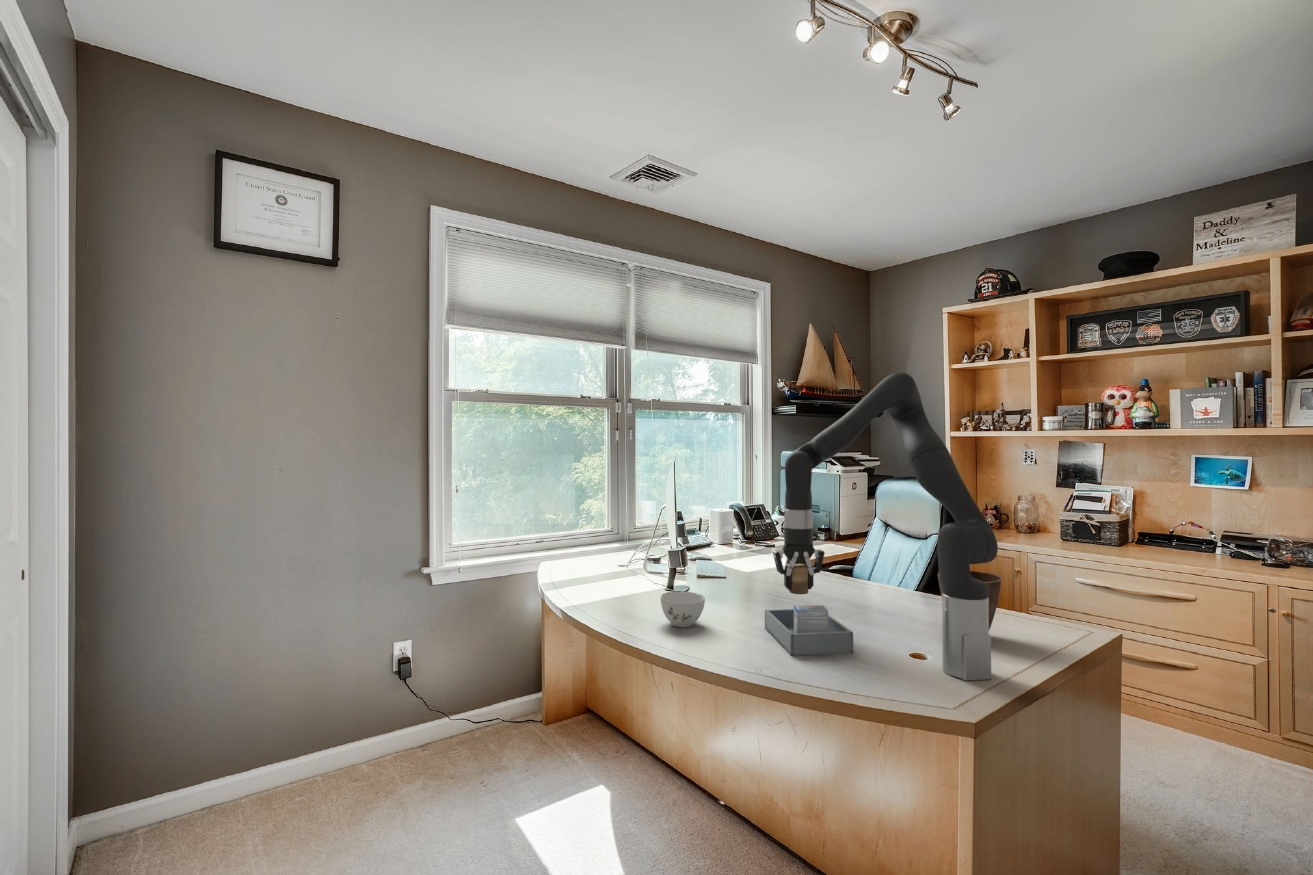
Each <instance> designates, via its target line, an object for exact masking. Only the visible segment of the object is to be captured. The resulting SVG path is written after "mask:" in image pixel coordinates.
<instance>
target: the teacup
mask: <svg viewBox="0 0 1313 875" xmlns="http://www.w3.org/2000/svg"><path fill="white" fill-rule="evenodd" d="M705 602H706V597H705V595H702V594H698V593H696V592H692V591H676V590H674V591H668V592H664V593H661V595H660V605H661V609H662V611H663V614H664V616H665V618H666V619H667V620H668V621H669V622H670V624H671V625H672V626H674V627H677V628H690V627H693V625H694V624H695V623H696V622H697V621H698V620H699V618H700V617H701V616H702V613H703V610H704V608H705Z"/></svg>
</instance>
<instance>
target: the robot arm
mask: <svg viewBox="0 0 1313 875" xmlns="http://www.w3.org/2000/svg"><path fill="white" fill-rule="evenodd" d="M916 383H917V382H916V381H915V379H914V377H912V376H911V375H910V374H908V373H906V372H901V371H900V372H895V373H894V372H893V373H891V374H890V375H887V376H886V377H885V378H883V379H882V380H881V381H880V382H878V383H877V385H875V387H873V389H872V390H870V391H869V393H868V394H867V393H866V396H864V397H863V398H862V399H861V400H860V401H859V402H857V404H855V405H854V407H852V408H851V409H850V410H849V411H847V412H846V413H845V414H844V415H843V416H841V418H838V419H837V420H836V421H834V422H833V423H832V424H831V425H829V426H828V427H827V428H824V429H823V431H821V432H819V433H818V434H816V436H814V437H813V438H812V439H811V440H810V441H808V442H806V443H805V444H803V445H802V446H800V447H798V448H796V449H795V450H794V451H792V452H791V453H789V454H788V455H787V456H786V458H785V461H784V476H785V478H784V480H785V493H784V508H785V509H784V518H783V531H784V532H783V536H784V537H783V543H784V545H783V548H782V549H780V550H773V551H772V555H773V561H774V565H775V568H776V571H777V573H779V574H780V575H783V585H784V588H786V590H787V591H789V590H791V576H790V574H791V572H792V569H793V568H794V565H795V564H803V565H805V566H807V567H808V590H812V588H814V575H815V574H817V573H818V574H819V573H821V571H822V566H823V562H824V557H825V554H826V553H825V551H824V550H821V549H815V547H814V545H813V544H814V518H813V515H814V514H813V495H812V494H813V493H812V478H813V474H812V473H813V472H812V471H813V469H815V468H816V467H818V466H819V465H821V464H822V463H823V462H825V461H827V460H829V459H831V458H833V457H835V456H836V455H838V454H839V453H840V452H842V451H843V450H845V449H846V448H847V447H849V446H850V445H851V444H853V442H855V440H857V439H858V437H859V436H860V435H861V433H862V432H863V431H864V430H865V428H866V427H867V426H868V425H869V424H870V422H872V421H873V420H874V419H875V418H876V417H877V416H878V415H880V414H881V413H882V412H884V411H886V412H887V413H888V414H889V417H890V419H891V420H892V421H893V422H894V424H895V426H896V428H897V429H898V431H899V433H900V436H901V438H902V442H903V446H904V450H905V454H906V457H907V458H906V459H907V460H908V463H909V465H910V468H911V471H912V472H913V475H914V477H915V478H916V481H917V482H918V483H919V485H920V486H921V488H923V489H924V490H925V491H926V492H927V493H928V494H929V495H930V496H931V497H933V498H934V499H935V500H936V501H937V502H939V503H940V504H942V506H943V507H944V508H945V509H946V510H947V511H948V513H949V514H950V516H952V518H953V519H954V522H949V523H946V524H944V525H943V526H941V527H940V529H939V532H938V534H937V541H936V542H937V543H936V546H937V562H938V563H937V564H938V573H939V578H940V581H941V584H942V596H941V599H942V601H941V602H942V606H941V609H942V610H941V611H942V612H941V613H942V616H941V617H942V625H941V626H942V627H941V628H942V632H941V633H942V634H941V635H942V639H941V640H942V641H941V642H942V650H941V651H942V670H943V672H944V673H946V674H947V675H950V676H953V677H956V678H957V679H958V678H959V679H962V680H963V681H977V680H978V681H980V680H981V681H982V680H992V636H991V635H990V633H989V631H990V630H989V589H988V585H987V584H986V583H985V582H983V581H980V580H977V579H974V578H973V577H972V576H971V573H970V571H971V567H970V566H971V565H981V564H988V563H991V562H993V561H994V560H995V559H996V558H997V555H998V551H999V550H998V549H999V546H998V540H997V537H996V534H995V532H994V530H993V528H992V527H991V525H990V523H989V522H988V520H987V518H986V517H985V516H984V514H983V512H982V511H981V510H980V508H979V506H978V504H977V503H976V501H975V500H974V498H973V497H972V495H971V492H970V491H969V490H968V487H967V486H966V484H965V482H964V480H963V478H962V477H961V474H960V472H959V471H958V468H957V465H956V463H955V461H954V460H953V457H952V455H951V454H950V451H949V449H948V448H947V446H946V444H945V443H944V441H943V440H942V438H941V437H940V436H939V434H938V433H937V432H936V430H934V428H933V427H932V426H931V423H930V421H929V419H928V417H927V414H926V412H925V409H924V406H923V403H922V400H921V395H920V392H919V389H918V385H917V384H916ZM783 556H785V557H786V560H785V567H784V566H783V561H782V559H783V558H784V557H783ZM813 556H814V557H815V559H814V563H813V564H812V561H811V557H813Z"/></svg>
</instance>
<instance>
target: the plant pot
mask: <svg viewBox="0 0 1313 875" xmlns="http://www.w3.org/2000/svg"><path fill="white" fill-rule="evenodd" d="M970 573H971V576H972V577H973V578H974V579H977V580H980V581H983V582H985V583H986V584H987V585H988V589H989V631H990V630H991V627H992V624H993V621H994V618H995V616H996V615H995V614H996V611H997V608H998V602H999V598H1000V592H1001V584H1002V578H1001V576H999V575H996V574H993V573H988V572H982V571H977V570H976V571H974V570H970ZM937 578H938V579H937V580H938V586H939V591H940V595H941V597H942V584H941V581H940V578H939V572H937Z"/></svg>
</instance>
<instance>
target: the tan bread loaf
mask: <svg viewBox="0 0 1313 875" xmlns="http://www.w3.org/2000/svg"><path fill="white" fill-rule="evenodd" d="M790 576H791V590H788V592H789V593H790V594H794V595H807V594H809V589H808V567H807V566H805V565H804V564H801V563H799V564H795V565H794V568H793V569H792V572H791V574H790Z"/></svg>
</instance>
